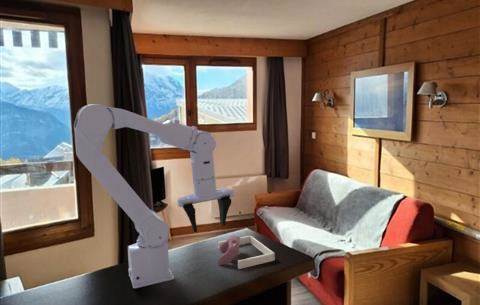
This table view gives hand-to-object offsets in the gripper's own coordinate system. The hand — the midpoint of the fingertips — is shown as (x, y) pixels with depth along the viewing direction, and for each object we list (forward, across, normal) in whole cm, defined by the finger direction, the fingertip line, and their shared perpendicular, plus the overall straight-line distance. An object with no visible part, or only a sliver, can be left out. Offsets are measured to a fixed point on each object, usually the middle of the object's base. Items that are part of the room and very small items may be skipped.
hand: (209, 227), depth 89 cm
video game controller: (+10, -5, 0) cm, 11 cm away
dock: (+10, -9, 0) cm, 14 cm away
